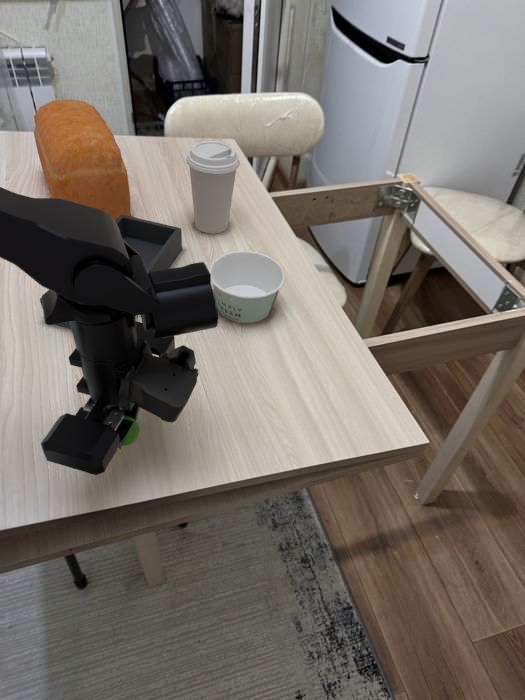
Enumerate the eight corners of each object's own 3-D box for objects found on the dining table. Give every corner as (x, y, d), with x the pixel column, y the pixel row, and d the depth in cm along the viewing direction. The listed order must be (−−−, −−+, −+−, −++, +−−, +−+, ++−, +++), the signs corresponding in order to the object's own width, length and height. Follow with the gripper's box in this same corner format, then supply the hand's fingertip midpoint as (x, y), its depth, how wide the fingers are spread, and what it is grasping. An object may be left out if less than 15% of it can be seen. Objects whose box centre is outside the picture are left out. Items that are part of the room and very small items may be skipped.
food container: (194, 313, 77) (194, 280, 73) (228, 274, 85) (230, 242, 81) (262, 339, 75) (266, 307, 70) (291, 296, 83) (296, 265, 78)
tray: (46, 322, 73) (39, 299, 70) (123, 235, 91) (120, 214, 87) (117, 341, 72) (114, 318, 68) (182, 249, 89) (181, 228, 86)
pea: (105, 447, 57) (100, 429, 55) (118, 423, 60) (115, 406, 57) (132, 455, 57) (129, 438, 54) (145, 431, 59) (143, 414, 57)
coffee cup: (198, 242, 91) (199, 165, 81) (179, 216, 97) (177, 141, 86) (243, 232, 95) (249, 158, 85) (223, 209, 101) (226, 136, 90)
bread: (62, 234, 89) (42, 149, 78) (41, 170, 105) (22, 91, 94) (136, 223, 94) (128, 141, 83) (105, 163, 110) (95, 88, 99)
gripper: (144, 441, 39) (156, 526, 50) (218, 301, 52) (214, 393, 63) (19, 405, 40) (57, 496, 51) (121, 277, 53) (134, 372, 64)
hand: (124, 434), depth 57 cm, fingers closed on pea, 3 cm apart
